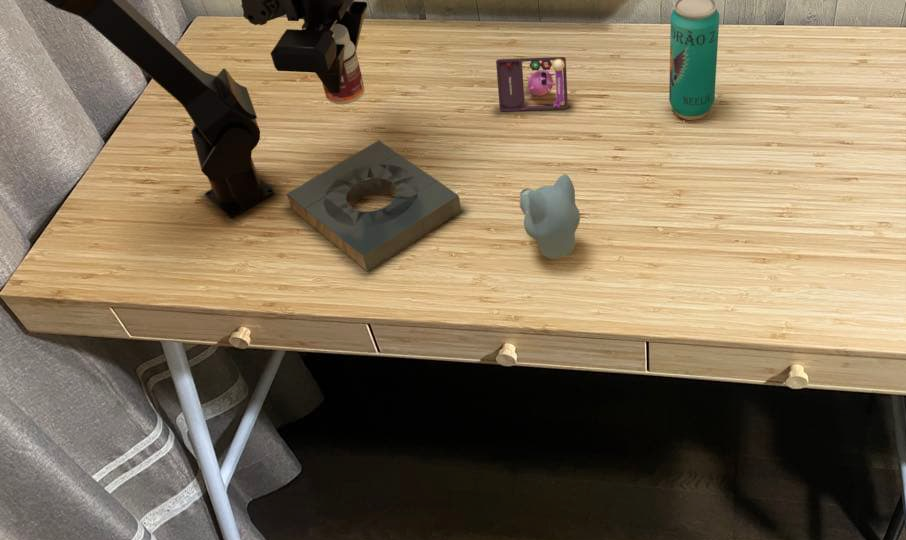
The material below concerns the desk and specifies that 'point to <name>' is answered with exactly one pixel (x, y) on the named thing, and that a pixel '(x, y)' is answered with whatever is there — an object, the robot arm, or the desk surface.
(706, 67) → the beverage can
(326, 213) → the grey square slab
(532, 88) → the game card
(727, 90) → the desk surface
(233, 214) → the robot arm
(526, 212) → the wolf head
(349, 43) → the pill bottle
